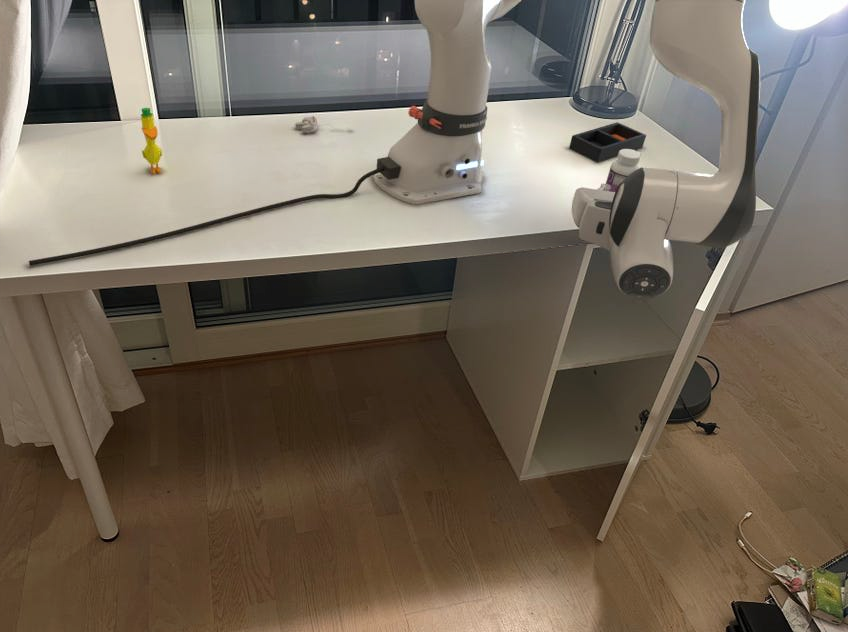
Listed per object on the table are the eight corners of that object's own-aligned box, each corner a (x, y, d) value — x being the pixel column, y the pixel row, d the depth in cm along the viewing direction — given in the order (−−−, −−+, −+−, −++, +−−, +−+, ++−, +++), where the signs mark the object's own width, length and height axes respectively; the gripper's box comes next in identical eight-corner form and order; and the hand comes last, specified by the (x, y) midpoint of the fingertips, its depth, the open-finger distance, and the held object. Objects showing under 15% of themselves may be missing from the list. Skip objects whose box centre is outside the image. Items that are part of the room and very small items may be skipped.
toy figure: (168, 178, 133) (160, 116, 126) (149, 181, 132) (139, 118, 124) (161, 163, 138) (152, 102, 130) (142, 165, 137) (132, 104, 129)
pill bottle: (602, 191, 140) (616, 144, 133) (630, 196, 139) (645, 150, 132) (600, 203, 136) (614, 155, 130) (628, 209, 135) (644, 161, 128)
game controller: (293, 125, 156) (292, 113, 154) (342, 121, 159) (343, 110, 157) (299, 135, 152) (299, 123, 150) (350, 131, 155) (350, 120, 153)
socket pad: (642, 147, 157) (646, 134, 155) (597, 162, 150) (601, 149, 148) (613, 134, 162) (617, 122, 160) (568, 148, 155) (572, 135, 153)
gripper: (711, 222, 109) (699, 183, 120) (578, 202, 112) (578, 166, 122) (697, 257, 113) (687, 216, 124) (569, 237, 116) (569, 199, 127)
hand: (631, 191), depth 123 cm, fingers open, 8 cm apart
